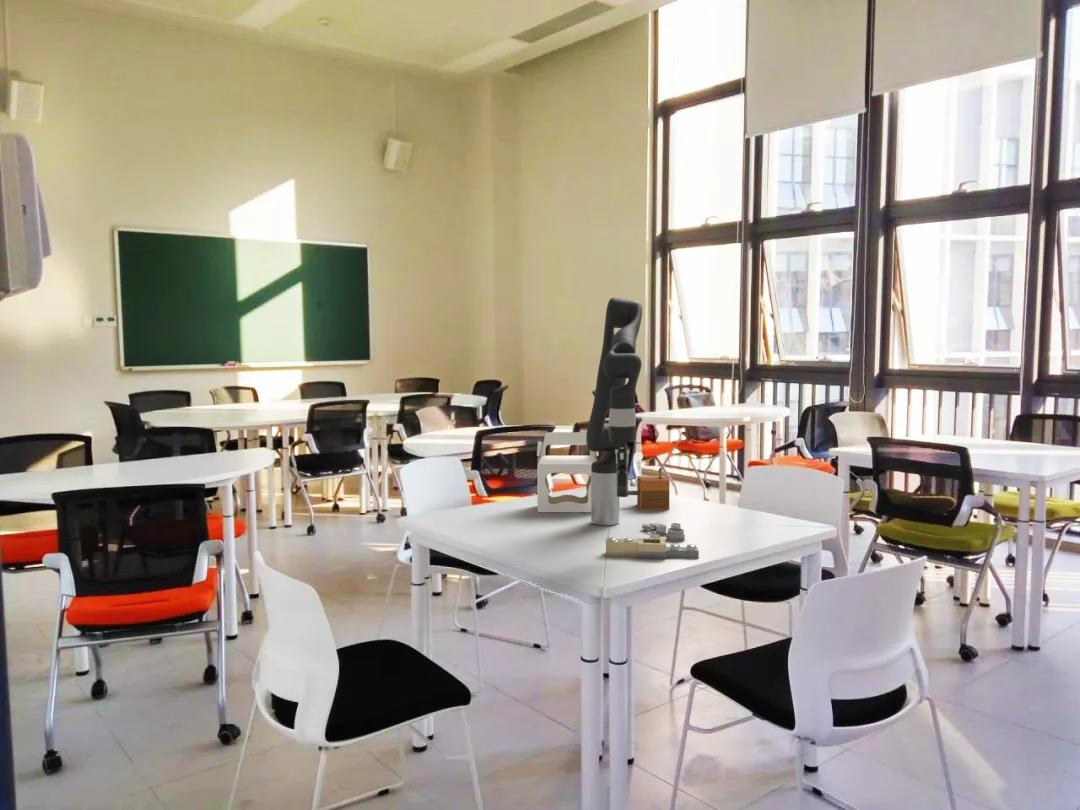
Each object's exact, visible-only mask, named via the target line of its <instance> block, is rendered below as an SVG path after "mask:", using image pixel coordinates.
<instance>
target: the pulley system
mask: <svg viewBox="0 0 1080 810" xmlns="http://www.w3.org/2000/svg"><path fill="white" fill-rule="evenodd" d="M641 529H643V530H645V531H646V532H648V533H650V536H649V538H661V536H665V542H666V543H668V542H670V543H671V542H672V543H673V542H674V543H680V542H684V541H685V539H686V534H685V533H684V532H685V529H683V528H681V523H679V522H677V523H676V522H673V523H671V525H670V527H669V528H667V525H665V524H662V523H658V522H656V523H643V524H641ZM652 529H654V530H655V531H653V530H652Z"/></svg>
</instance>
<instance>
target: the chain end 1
mask: <svg viewBox="0 0 1080 810" xmlns="http://www.w3.org/2000/svg"><path fill="white" fill-rule="evenodd" d="M665 540H666V537H664V538H663V537H660V538H650V537H637V538H631V537H627V538H616V537H608V538H605V557H631V558H632V557H637V558H638V551H650V552H666V547H667V542H665Z"/></svg>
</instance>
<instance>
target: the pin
mask: <svg viewBox="0 0 1080 810" xmlns="http://www.w3.org/2000/svg"><path fill="white" fill-rule="evenodd" d="M626 454H627V453H626ZM626 460H627V456H626ZM620 467H625V465H620ZM617 469H618V465H617ZM628 491H629V464H628V465H627V473H626V486H625V487H620V486H618V472H617V497H619V498H626V497H628V498H629V495H628Z"/></svg>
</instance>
